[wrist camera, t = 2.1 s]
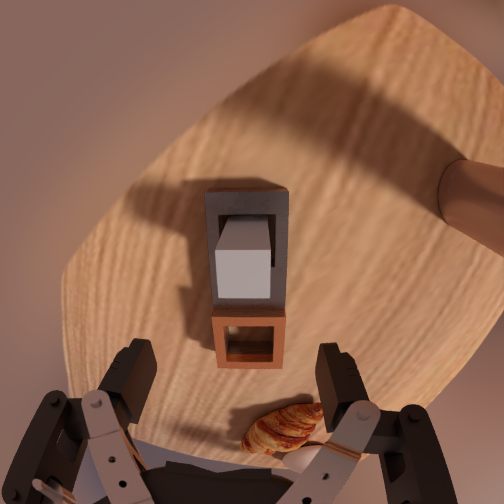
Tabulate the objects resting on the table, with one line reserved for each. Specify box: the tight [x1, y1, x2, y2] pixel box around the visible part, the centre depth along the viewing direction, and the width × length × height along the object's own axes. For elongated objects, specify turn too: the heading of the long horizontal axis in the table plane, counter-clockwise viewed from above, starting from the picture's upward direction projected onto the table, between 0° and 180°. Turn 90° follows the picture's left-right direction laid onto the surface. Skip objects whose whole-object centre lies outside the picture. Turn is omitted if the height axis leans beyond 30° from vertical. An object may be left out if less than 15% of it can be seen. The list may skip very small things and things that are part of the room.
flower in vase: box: [282, 445, 322, 474], centre depth 36 cm, size 13×11×25 cm
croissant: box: [240, 402, 323, 455], centre depth 40 cm, size 21×10×8 cm, turn 141°
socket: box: [205, 188, 289, 369], centre depth 30 cm, size 22×8×4 cm, turn 1°
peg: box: [215, 216, 271, 298], centre depth 25 cm, size 4×4×10 cm
